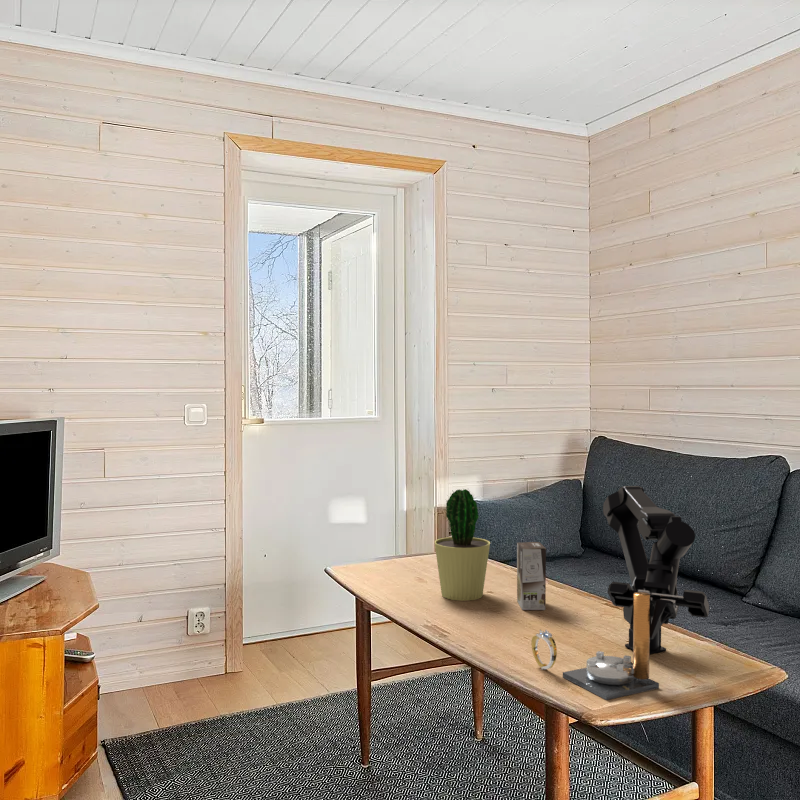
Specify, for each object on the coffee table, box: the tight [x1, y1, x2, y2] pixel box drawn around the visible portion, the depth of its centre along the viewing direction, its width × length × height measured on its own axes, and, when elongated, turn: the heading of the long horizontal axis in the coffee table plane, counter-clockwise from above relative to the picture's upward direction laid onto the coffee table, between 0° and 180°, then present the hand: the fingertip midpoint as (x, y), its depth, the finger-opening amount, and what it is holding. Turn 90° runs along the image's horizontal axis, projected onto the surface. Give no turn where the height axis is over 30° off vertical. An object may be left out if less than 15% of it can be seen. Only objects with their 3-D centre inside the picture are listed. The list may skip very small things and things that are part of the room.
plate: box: [562, 667, 660, 701], centre depth 161 cm, size 13×13×1 cm
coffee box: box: [516, 541, 547, 611], centre depth 215 cm, size 9×6×16 cm
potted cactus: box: [434, 488, 491, 602], centre depth 225 cm, size 15×15×30 cm
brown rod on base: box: [586, 592, 650, 685], centre depth 160 cm, size 12×9×17 cm
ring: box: [530, 629, 558, 671], centre depth 168 cm, size 7×3×8 cm, turn 22°
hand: (650, 638), depth 158 cm, fingers closed
